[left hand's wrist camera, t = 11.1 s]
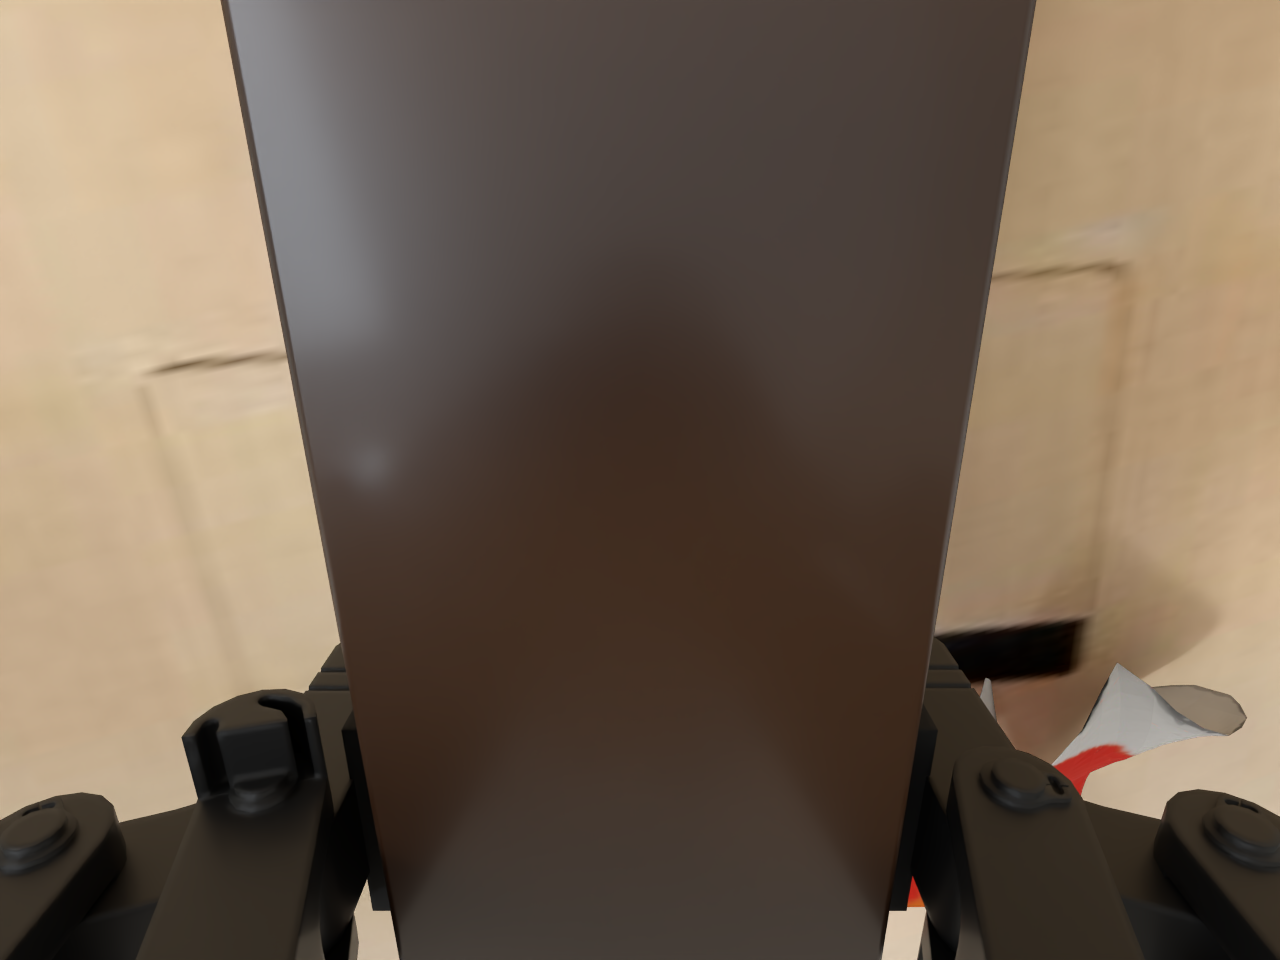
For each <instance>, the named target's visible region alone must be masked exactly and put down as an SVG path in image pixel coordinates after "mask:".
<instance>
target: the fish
mask: <svg viewBox="0 0 1280 960" xmlns="http://www.w3.org/2000/svg"><path fill="white" fill-rule="evenodd" d="M980 698H981V699H982V701H983V702H984V704H985V705H986V707H987V708H988V710H989V711H990V713H991V714H992V716H993V717H994V719H995V720H996V714H995V708H994V701H993V693H992V685H991V681H990V680H989V679H988V678H985V681H984V685H983V688H982V692H981V695H980ZM1246 719H1247V717H1246V715H1245V713H1244V711H1243V710H1242V708H1241V706H1240V704H1239V703H1238V702H1237V701H1236V700H1235V699H1234V698H1233V697H1232V696H1230V695H1228V694H1224V693H1221V692H1217V691H1213V690H1210V689H1207V688H1203V687H1200V686H1196V685H1170V686H1159V687H1151V686H1149V685H1148V684H1146V683H1145V682H1144V681H1142V680H1141V679H1139V678H1138V677H1137V676H1135V675H1134V674H1132V673H1131V672H1130V671H1128V670H1127V669H1125V668H1124V667H1123V666H1121V665H1120V664H1118V663H1117V664H1116V666H1115V667H1114V669H1113V671H1112V673H1111V675H1110V676H1109V678H1108V680H1107V682H1106V683H1105V685H1104V687H1103V689H1102V691H1101V693H1100V695H1099V697H1098V699H1097V701H1096V703H1095V705H1094V707H1093V709H1092V711H1091V713H1090V715H1089V717H1088V719H1087V721H1086V723H1085V725H1084V727H1083V729H1082V731H1081V732H1080V733H1079V734H1078V736H1077V737H1076V738H1075V739H1074V740H1073V741H1072V742H1071V743H1070V745H1069V746H1068V747H1067V748H1066V749H1065V750H1064V751H1063V752H1062V753H1061V755H1060V756H1059V757H1058V758H1057V759H1056V760H1055V761H1054V762H1053V763H1052V764H1051V765H1052V766H1054V767H1055V768H1056V769H1057V770H1058V771H1060V772H1061V773H1062V774H1063V775H1064V776H1066V777H1067V778H1068V779H1069V780H1071V782H1072V783H1073V785H1074V786H1075V788H1076V789H1077V791H1078V793H1079V794H1080V796H1081V793H1082V789H1083V786H1084V783H1085V781H1086V778H1087V777H1088V775H1089V773H1090V772H1092V771H1094V770H1097V769H1099V768H1102V767H1104V766H1107V765H1109V764H1111V763H1114V762H1117V761H1121V760H1125V759H1127V758H1129V757H1132V756H1134V755H1137V754H1139V753H1142V752H1145V751H1147V750H1150V749H1154V748H1156V747H1159V746H1161V745H1165V744H1168V743H1172V742H1176V741H1182V740H1186V739H1191V738H1196V737H1203V736H1229V735H1231V734H1232V733H1234V732H1235V731H1237V730H1239V729H1240V728H1242V726H1243V724H1244V722H1245V721H1246ZM996 722H997V720H996ZM907 907H925V906H924V903H923V901H922V898H921V896H920V893H919V891H918V888H917V886H916V883H915V881H914V878H913V876H912V882H911V888H910V893H909V899H908V905H907Z"/></svg>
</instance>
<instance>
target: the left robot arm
mask: <svg viewBox="0 0 1280 960" xmlns="http://www.w3.org/2000/svg"><path fill="white" fill-rule="evenodd" d="M182 741H183V745H184V748H185V752H186V756H187V759H188V763H189V767H190V771H191V774H192V778H193V782H194V785H195V789H196V793H197V796H198V800H197V803H196V804H193V805H190V806H186V807H183V808H180V809H176V810H172V811H168V812H164V813H159V814H155V815H151V816H146V817H142V818H138V819H133V820H129V821H125V822H120V823H119V821H118V818H117V815H116V812H115V809H114V806H113V805H112V804H111V803H110V802H109V801H108V800H106V799H105V798H104V797H103V796H101V795H95V794H88V793H75V794H68V795H60V796H55V797H52V798H49V799H46V800H43V801H40V802H37V803H34V804H31V805H29V806H26V807H24V808H22V809H20V810H18V811H17V812H15V813H13V814H11V815H9V816H7V817H5V818H4V819H2V820H0V960H357V955H358V944H359V941H358V934H357V927H356V921H355V916H354V910H355V908H356V905H357V903H358V900H359V898H360V895H361V893H362V890H363V888H364V885H365V883H366V880H368V886H369V891H370V897H371V903H372V908H373V911H391V910H390V905H389V900H388V894H387V889H386V883H385V878H384V873H383V867H382V862H381V857H380V851H379V846H378V841H377V835H376V830H375V825H374V819H373V814H372V808H371V803H370V798H369V792H368V787H367V782H366V776H365V771H364V766H363V760H362V755H361V749H360V744H359V739H358V733H357V728H356V723H355V717H354V712H353V707H352V701H351V696H350V691H349V685H348V680H347V674H346V669H345V664H344V658H343V653H342V648H341V643H340V644H338V645H337V646H336V647H335V648H334V650H333V651H332V653H331V654H330V656H329V657H328V659H327V660H326V662H325V663H324V665H323V666H322V668H321V672H318V674H317V675H316V676H315V678H314V679H313V681H312V682H311V684H310V685H309V691H305V693H304V694H303V693H299V692H295V691H291V690H287V689H274V690H260V691H256V692H252V693H248V694H244V695H240V696H237V697H234V698H232V699H230V700H228V701H226V702H223V703H221V704H219V705H217V706H214V707H213V708H211V709H210V710H209V711H207V712H206V713H204V714H203V715H202V716H200V717H199V718H198V719H196V720H195V721H194V722H193V723H192V724H191V726H190V727H189V728H188V730H187V731H186V732H185V733H184V735H183V736H182ZM912 876H913V878H914V881H915V883H916V886H917V888H918V891H919V893H920V896H921V898H922V901H923V903H924V906H925V908H926V916H925V921H924V927H923V932H922V937H921V942H920V948H919V953H918V958H917V960H1280V817H1279V816H1278V815H1276V814H1274V813H1272V812H1270V811H1268V810H1266V809H1264V808H1263V807H1261V806H1259V805H1257V804H1255V803H1253V802H1250V801H1247V800H1244V799H1241V798H1238V797H1235V796H1232V795H1229V794H1226V793H1222V792H1215V791H1207V790H1200V789H1197V790H1190V791H1184V792H1178V793H1177V794H1176V795H1175V796H1173V797H1172V798H1171V799H1170V800H1169V801H1168V802H1167V803H1166V807H1165V810H1164V813H1163V816H1162V819H1161V820H1160V819H1156V818H1151V817H1147V816H1143V815H1138V814H1134V813H1130V812H1125V811H1121V810H1117V809H1112V808H1108V807H1104V806H1100V805H1097V804H1094V803H1090V802H1087V801H1084V800H1083V799H1082V797H1081V796H1080V794H1079V793H1078V791H1077V789H1076V788H1075V786H1074V785H1073V783H1072V782H1071V780H1069V779H1068V778H1067V777H1066V776H1064V775H1063V774H1062V773H1061V772H1060V771H1058V770H1057V769H1056V768H1055V767H1054V766H1052V765H1051V764H1049V763H1047V762H1045V761H1043V760H1041V759H1039V758H1037V757H1035V756H1033V755H1031V754H1029V753H1025V752H1022V751H1018V750H1015V748H1014V747H1013V745H1012V744H1011V742H1010V741H1009V739H1008V738H1007V736H1006V735H1005V733H1004V732H1003V730H1002V729H1001V727H1000V726H999V725H998V723H997V722H996V720H995V719H994V717H993V716H992V714H991V713H990V711H989V710H988V708H987V707H986V705H985V704H984V702H983V701H982V699H981V698H980V697H979V695H978V694H977V692H976V691H975V689H974V688H971V683H970V682H969V680H968V679H967V677H966V676H965V674H964V673H963V672H962V670H959V668H958V664H957V663H956V661H955V660H954V658H953V657H952V655H951V654H950V652H949V651H948V649H947V648H946V647H945V645H944V644H943V643H942V642H940V641H939V640H938V639H936V638H935V637H933V643H932V649H931V655H930V661H929V668H928V674H927V680H926V686H925V692H924V699H923V705H922V711H921V717H920V723H919V730H918V736H917V742H916V748H915V754H914V761H913V767H912V773H911V779H910V785H909V792H908V798H907V804H906V810H905V816H904V823H903V829H902V835H901V841H900V847H899V854H898V860H897V866H896V872H895V878H894V885H893V891H892V897H891V903H890V909H889V911H906V910H907V905H908V899H909V893H910V888H911V882H912Z"/></svg>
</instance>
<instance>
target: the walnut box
mask: <svg viewBox="0 0 1280 960" xmlns="http://www.w3.org/2000/svg"><path fill="white" fill-rule="evenodd" d="M221 5H222V10H223V15H224V21H225V26H226V31H227V37H228V42H229V47H230V53H231V58H232V64H233V69H234V74H235V80H236V85H237V90H238V96H239V101H240V106H241V112H242V117H243V123H244V128H245V133H246V139H247V144H248V149H249V155H250V160H251V165H252V171H253V176H254V181H255V187H256V192H257V198H258V203H259V208H260V214H261V219H262V224H263V230H264V235H265V240H266V246H267V251H268V256H269V262H270V267H271V273H272V278H273V283H274V289H275V294H276V299H277V305H278V310H279V315H280V321H281V326H282V332H283V337H284V342H285V348H286V353H287V358H288V364H289V369H290V374H291V380H292V385H293V390H294V396H295V401H296V407H297V412H298V417H299V423H300V428H301V433H302V439H303V444H304V449H305V455H306V460H307V465H308V471H309V476H310V482H311V487H312V492H313V498H314V503H315V508H316V514H317V519H318V524H319V530H320V535H321V540H322V546H323V551H324V557H325V562H326V567H327V573H328V578H329V583H330V589H331V594H332V599H333V605H334V610H335V616H336V621H337V626H338V632H339V637H340V642H341V648H342V653H343V658H344V664H345V669H346V674H347V680H348V685H349V691H350V696H351V701H352V707H353V712H354V717H355V723H356V728H357V733H358V739H359V744H360V749H361V755H362V760H363V766H364V771H365V776H366V782H367V787H368V792H369V798H370V803H371V808H372V814H373V819H374V825H375V830H376V835H377V841H378V846H379V851H380V857H381V862H382V867H383V873H384V878H385V883H386V889H387V894H388V900H389V905H390V910H391V916H392V921H393V926H394V932H395V937H396V942H397V948H398V953H399V958H400V960H881V959H882V953H883V946H884V940H885V934H886V928H887V922H888V915H889V909H890V903H891V897H892V891H893V885H894V878H895V872H896V866H897V860H898V854H899V847H900V841H901V835H902V829H903V823H904V816H905V810H906V804H907V798H908V792H909V785H910V779H911V773H912V767H913V761H914V754H915V748H916V742H917V736H918V730H919V723H920V717H921V711H922V705H923V699H924V692H925V686H926V680H927V674H928V668H929V661H930V655H931V649H932V643H933V637H934V630H935V624H936V618H937V612H938V606H939V599H940V593H941V587H942V581H943V575H944V568H945V562H946V556H947V550H948V544H949V538H950V531H951V525H952V519H953V513H954V507H955V500H956V494H957V488H958V482H959V476H960V469H961V463H962V457H963V451H964V445H965V438H966V432H967V426H968V420H969V414H970V407H971V401H972V395H973V389H974V383H975V376H976V370H977V364H978V358H979V352H980V345H981V339H982V333H983V327H984V321H985V314H986V308H987V302H988V296H989V290H990V283H991V277H992V271H993V265H994V259H995V252H996V246H997V240H998V234H999V228H1000V222H1001V215H1002V209H1003V203H1004V197H1005V191H1006V184H1007V178H1008V172H1009V166H1010V160H1011V153H1012V147H1013V141H1014V135H1015V129H1016V122H1017V116H1018V110H1019V104H1020V98H1021V91H1022V85H1023V79H1024V73H1025V67H1026V60H1027V54H1028V48H1029V42H1030V36H1031V29H1032V23H1033V17H1034V11H1035V5H1036V0H221Z"/></svg>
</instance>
